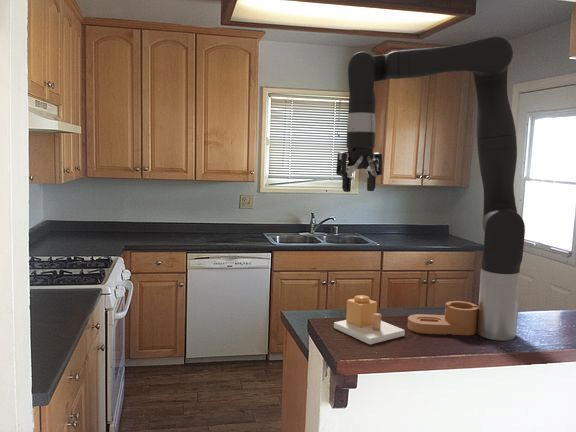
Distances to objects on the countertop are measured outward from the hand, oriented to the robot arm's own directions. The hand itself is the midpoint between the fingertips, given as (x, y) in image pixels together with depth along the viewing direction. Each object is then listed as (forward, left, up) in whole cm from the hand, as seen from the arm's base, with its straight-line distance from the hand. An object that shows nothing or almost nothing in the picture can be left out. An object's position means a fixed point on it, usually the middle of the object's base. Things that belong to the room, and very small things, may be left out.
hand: (358, 191), depth 140 cm
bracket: (-16, +18, -37) cm, 43 cm away
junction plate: (+3, +9, -36) cm, 37 cm away
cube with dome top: (+3, +6, -35) cm, 35 cm away
